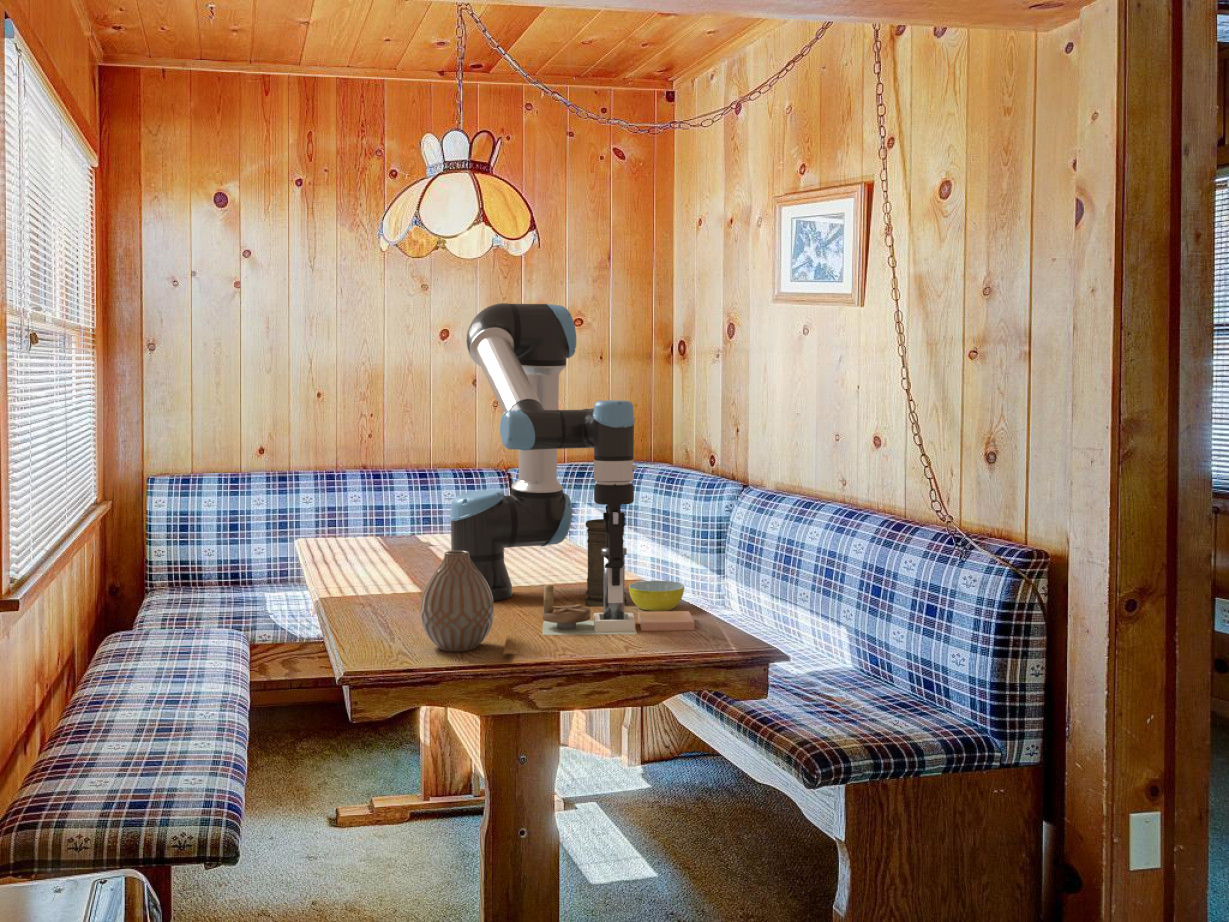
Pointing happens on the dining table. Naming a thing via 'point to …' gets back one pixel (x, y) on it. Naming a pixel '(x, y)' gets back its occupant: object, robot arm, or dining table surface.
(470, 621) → the vase
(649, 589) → the bowl
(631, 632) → the plate
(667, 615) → the rest tile
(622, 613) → the metal flanged cylinder
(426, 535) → the dining table surface
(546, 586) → the handwheel
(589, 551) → the container
